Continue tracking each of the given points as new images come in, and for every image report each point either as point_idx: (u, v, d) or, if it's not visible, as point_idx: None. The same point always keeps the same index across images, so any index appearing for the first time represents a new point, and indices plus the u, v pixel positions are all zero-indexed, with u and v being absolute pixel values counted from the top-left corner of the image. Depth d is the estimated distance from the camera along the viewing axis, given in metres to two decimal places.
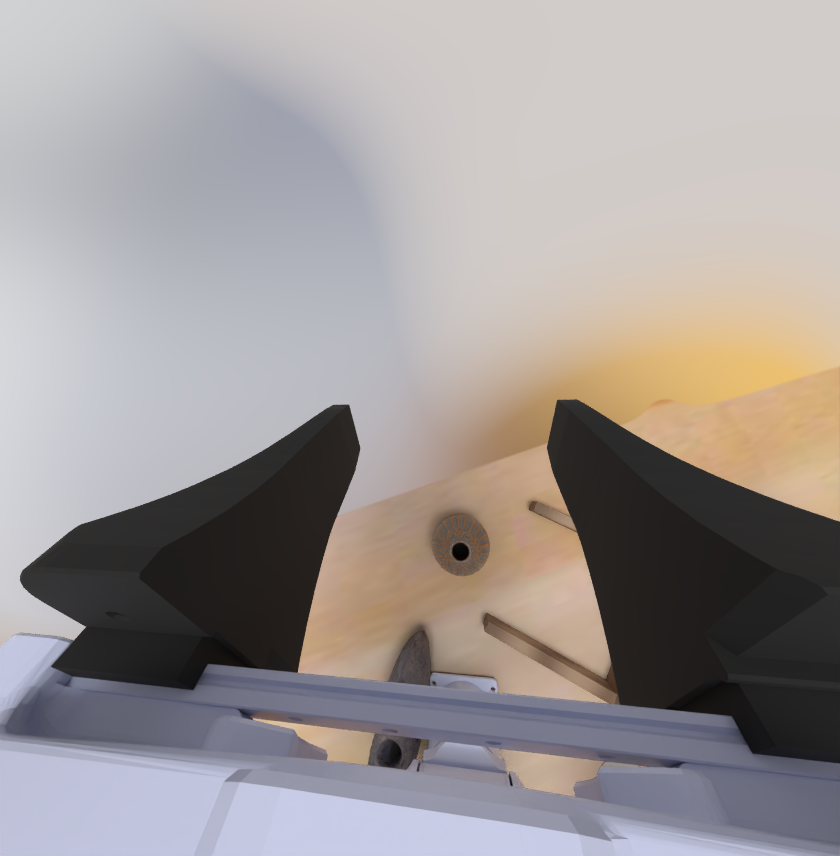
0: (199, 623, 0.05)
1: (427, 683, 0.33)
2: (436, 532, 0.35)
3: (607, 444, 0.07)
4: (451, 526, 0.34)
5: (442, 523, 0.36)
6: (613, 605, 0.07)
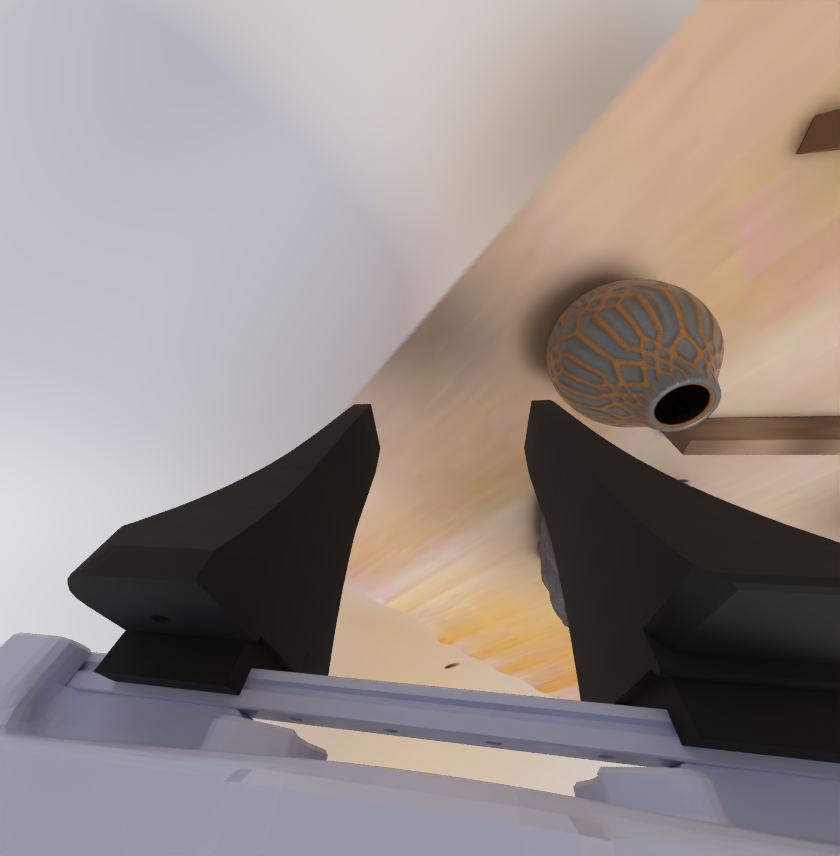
0: (246, 627, 0.05)
1: None
2: (566, 368, 0.14)
3: (570, 444, 0.07)
4: (615, 343, 0.12)
5: (574, 341, 0.14)
6: (575, 603, 0.07)
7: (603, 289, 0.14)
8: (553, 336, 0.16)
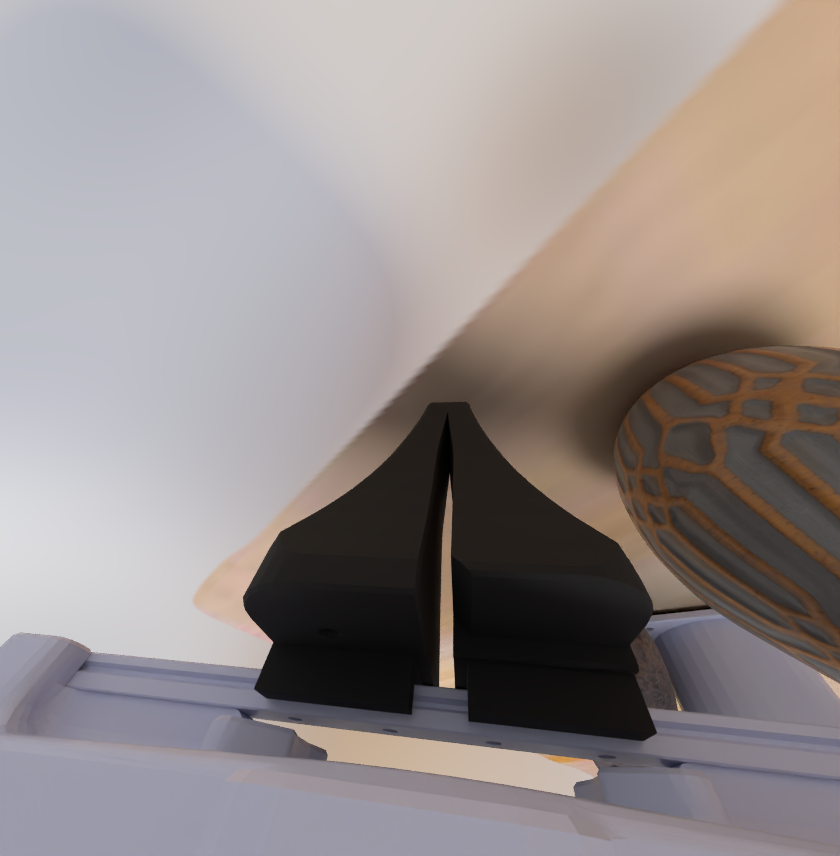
0: None
1: (674, 695, 0.15)
2: (685, 531, 0.07)
3: (453, 445, 0.07)
4: None
5: (712, 486, 0.06)
6: None
7: (766, 372, 0.07)
8: (640, 443, 0.08)
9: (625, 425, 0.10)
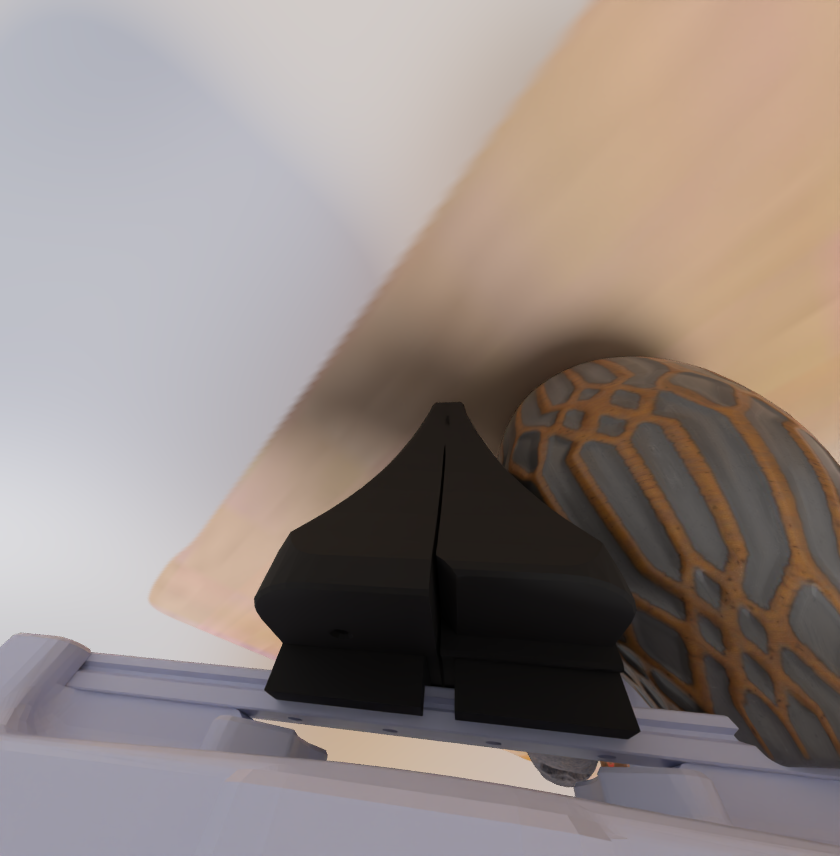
0: None
1: None
2: None
3: (446, 445, 0.07)
4: (619, 547, 0.05)
5: None
6: None
7: (593, 383, 0.07)
8: (503, 450, 0.09)
9: None
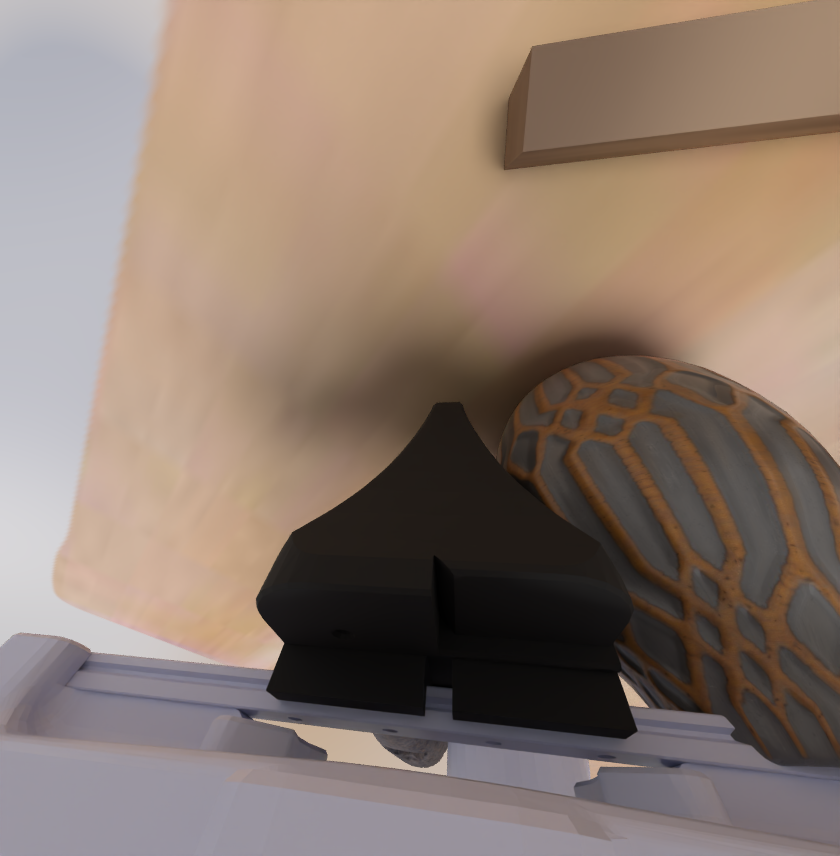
0: (434, 642, 0.04)
1: None
2: None
3: (444, 445, 0.07)
4: (617, 546, 0.05)
5: None
6: None
7: (591, 382, 0.07)
8: (501, 450, 0.09)
9: (503, 431, 0.10)
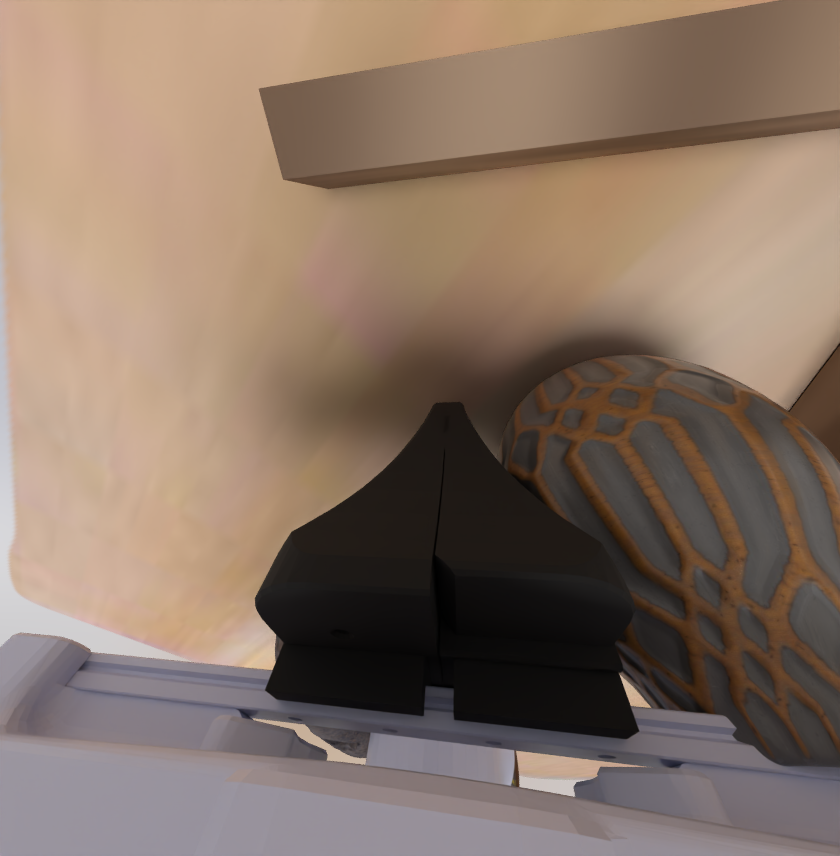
0: (433, 642, 0.04)
1: None
2: None
3: (445, 445, 0.07)
4: (619, 546, 0.05)
5: (532, 493, 0.07)
6: None
7: (592, 382, 0.07)
8: (502, 450, 0.09)
9: (504, 431, 0.10)
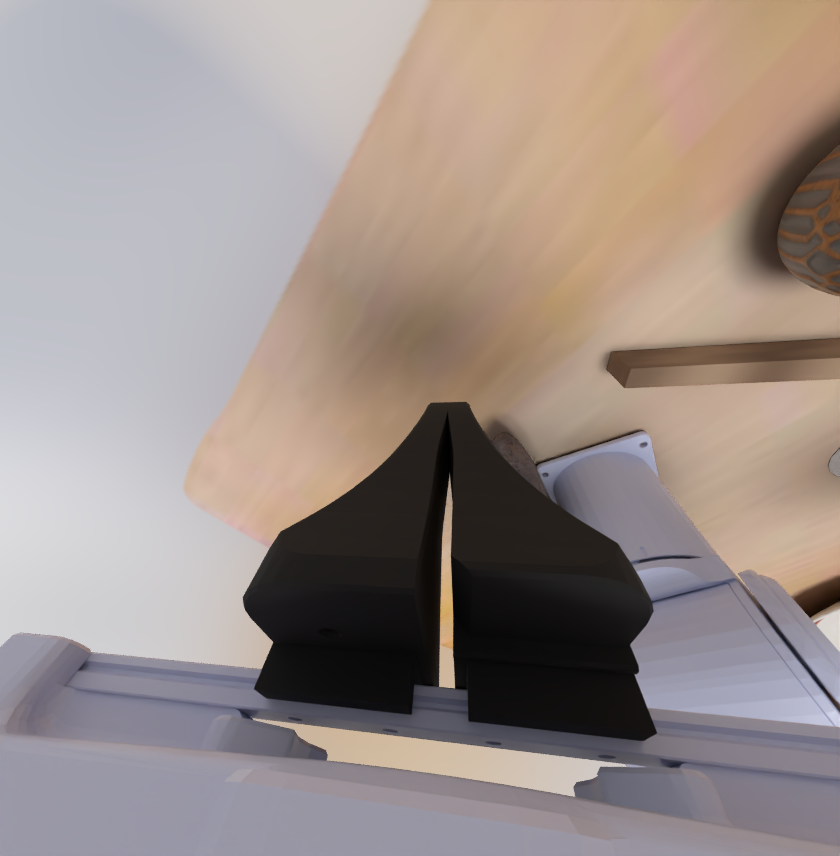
0: None
1: None
2: None
3: (453, 445, 0.07)
4: None
5: None
6: None
7: None
8: (832, 178, 0.11)
9: (802, 189, 0.12)
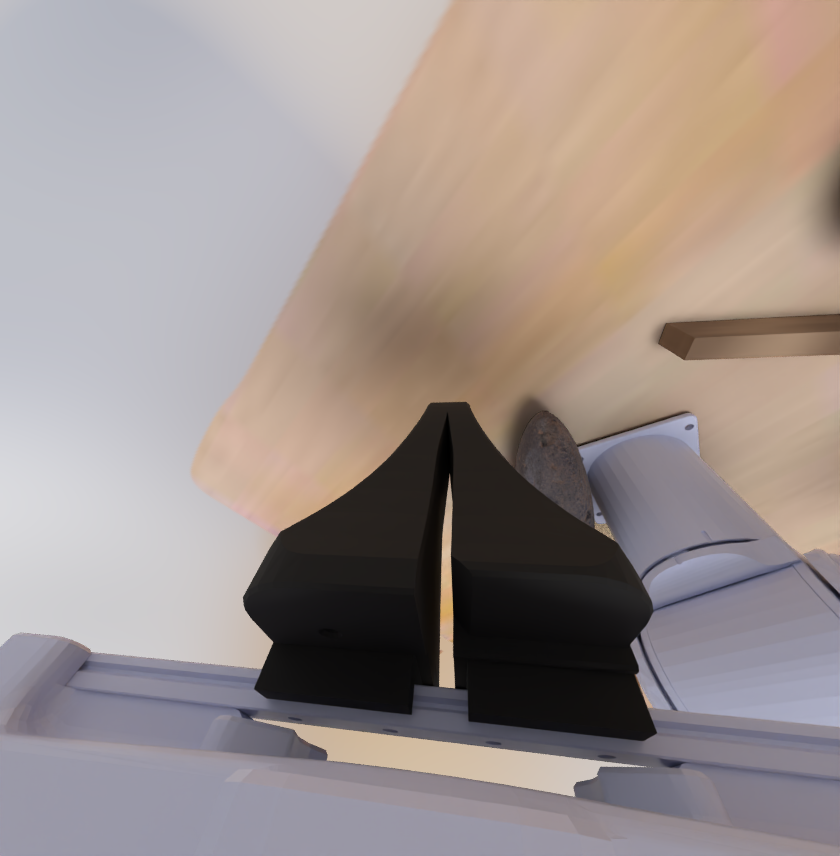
0: None
1: (586, 476, 0.19)
2: None
3: (453, 445, 0.07)
4: None
5: None
6: None
7: None
8: None
9: None
